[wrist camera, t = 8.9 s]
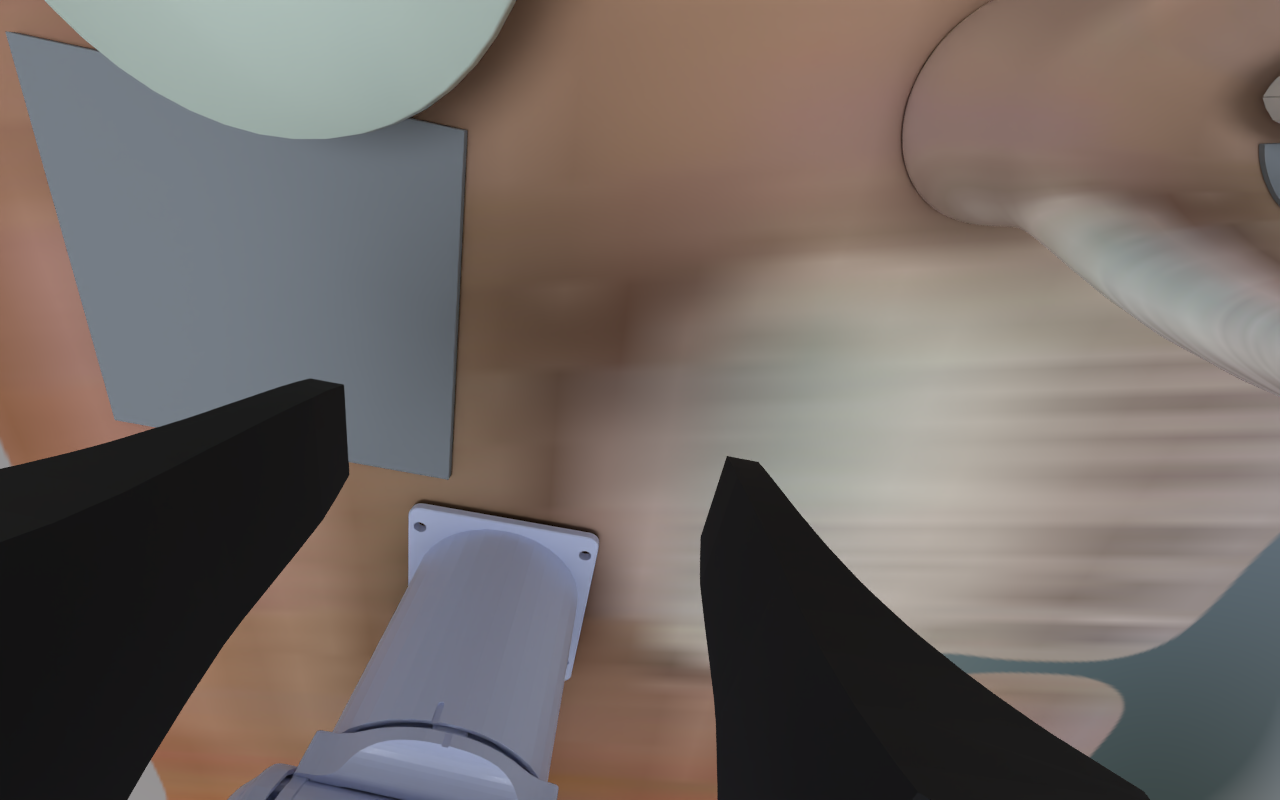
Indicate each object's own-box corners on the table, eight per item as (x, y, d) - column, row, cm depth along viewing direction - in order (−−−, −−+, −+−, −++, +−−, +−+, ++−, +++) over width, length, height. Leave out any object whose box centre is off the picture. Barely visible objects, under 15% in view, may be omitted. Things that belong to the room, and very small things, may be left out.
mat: (450, 475, 23) (448, 479, 23) (121, 415, 22) (114, 419, 22) (467, 130, 17) (464, 130, 17) (16, 32, 16) (5, 31, 16)
